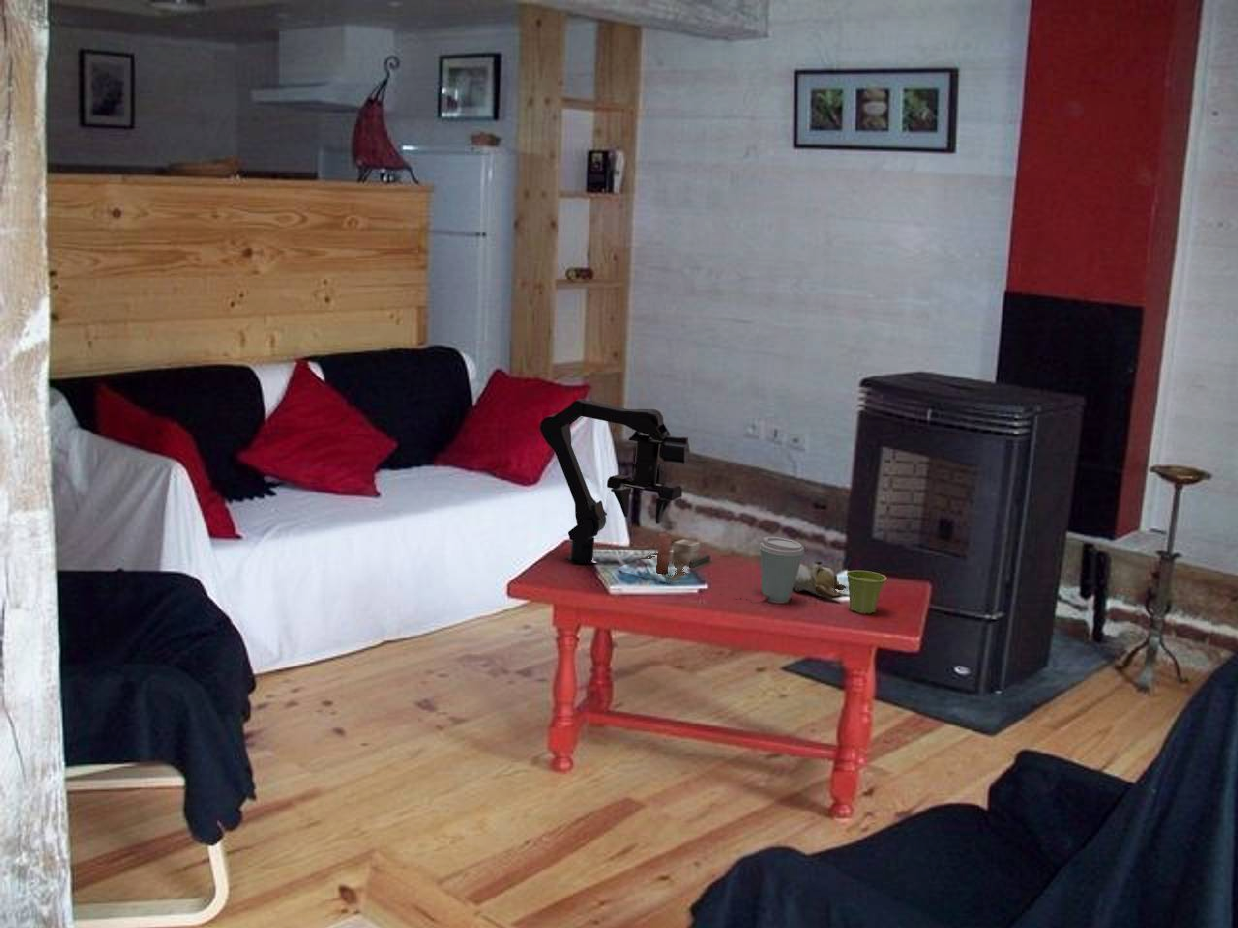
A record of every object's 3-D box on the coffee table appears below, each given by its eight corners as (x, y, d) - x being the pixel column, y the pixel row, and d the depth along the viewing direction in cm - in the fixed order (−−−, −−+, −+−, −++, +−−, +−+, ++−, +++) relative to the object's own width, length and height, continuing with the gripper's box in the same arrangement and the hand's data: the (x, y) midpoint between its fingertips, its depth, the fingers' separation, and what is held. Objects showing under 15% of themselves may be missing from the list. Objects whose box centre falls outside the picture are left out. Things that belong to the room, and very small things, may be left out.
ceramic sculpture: (800, 550, 361) (857, 565, 355) (795, 583, 363) (851, 598, 356) (786, 559, 351) (844, 574, 345) (780, 592, 353) (838, 608, 347)
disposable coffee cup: (785, 593, 353) (791, 534, 350) (806, 606, 343) (813, 545, 341) (747, 594, 349) (753, 534, 347) (767, 607, 340) (773, 546, 337)
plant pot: (840, 603, 348) (844, 568, 347) (879, 606, 348) (883, 572, 347) (845, 614, 339) (849, 578, 338) (884, 617, 339) (888, 582, 337)
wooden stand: (617, 571, 359) (620, 528, 357) (661, 554, 380) (665, 513, 378) (673, 584, 352) (677, 540, 350) (715, 566, 373) (719, 524, 371)
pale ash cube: (672, 561, 369) (674, 542, 368) (681, 557, 373) (683, 539, 372) (689, 565, 367) (691, 546, 366) (698, 561, 371) (700, 542, 370)
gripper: (694, 461, 361) (688, 521, 364) (629, 450, 370) (625, 508, 373) (674, 467, 352) (668, 528, 354) (608, 455, 360) (603, 515, 363)
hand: (641, 520), depth 362 cm, fingers open, 9 cm apart
